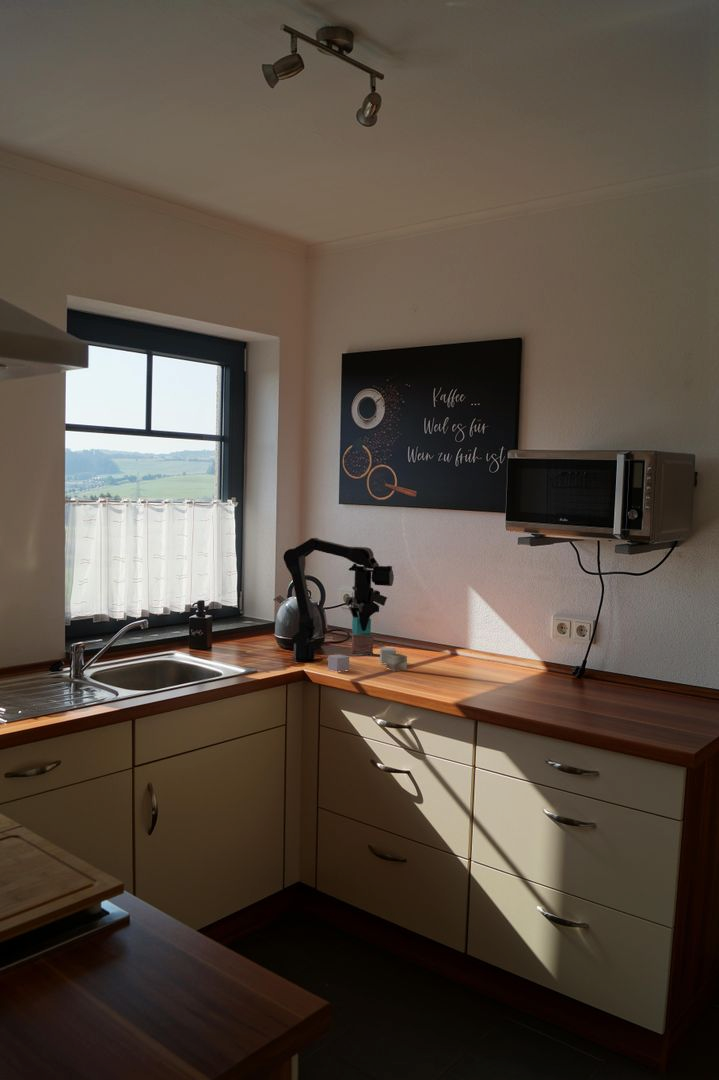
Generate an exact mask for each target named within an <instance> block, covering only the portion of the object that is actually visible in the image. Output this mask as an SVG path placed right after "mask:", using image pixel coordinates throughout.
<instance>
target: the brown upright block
mask: <svg viewBox="0 0 719 1080" xmlns="http://www.w3.org/2000/svg"><path fill="white" fill-rule="evenodd" d="M374 637H375V635H374V633H371V634H356V633H354V632H352V633H351V652H350V653H352V654H351V655H354V654H369V655H368V656H372V655H371V654H373V655H374Z"/></svg>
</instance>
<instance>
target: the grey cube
mask: <svg viewBox="0 0 719 1080" xmlns="http://www.w3.org/2000/svg"><path fill="white" fill-rule="evenodd" d="M379 650H380V651H379V654H380V655H379V662H380V661H381V662H380V664H381V663H387V654H397V649H396V648H395V647H382V646H381V647H380V649H379Z"/></svg>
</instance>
